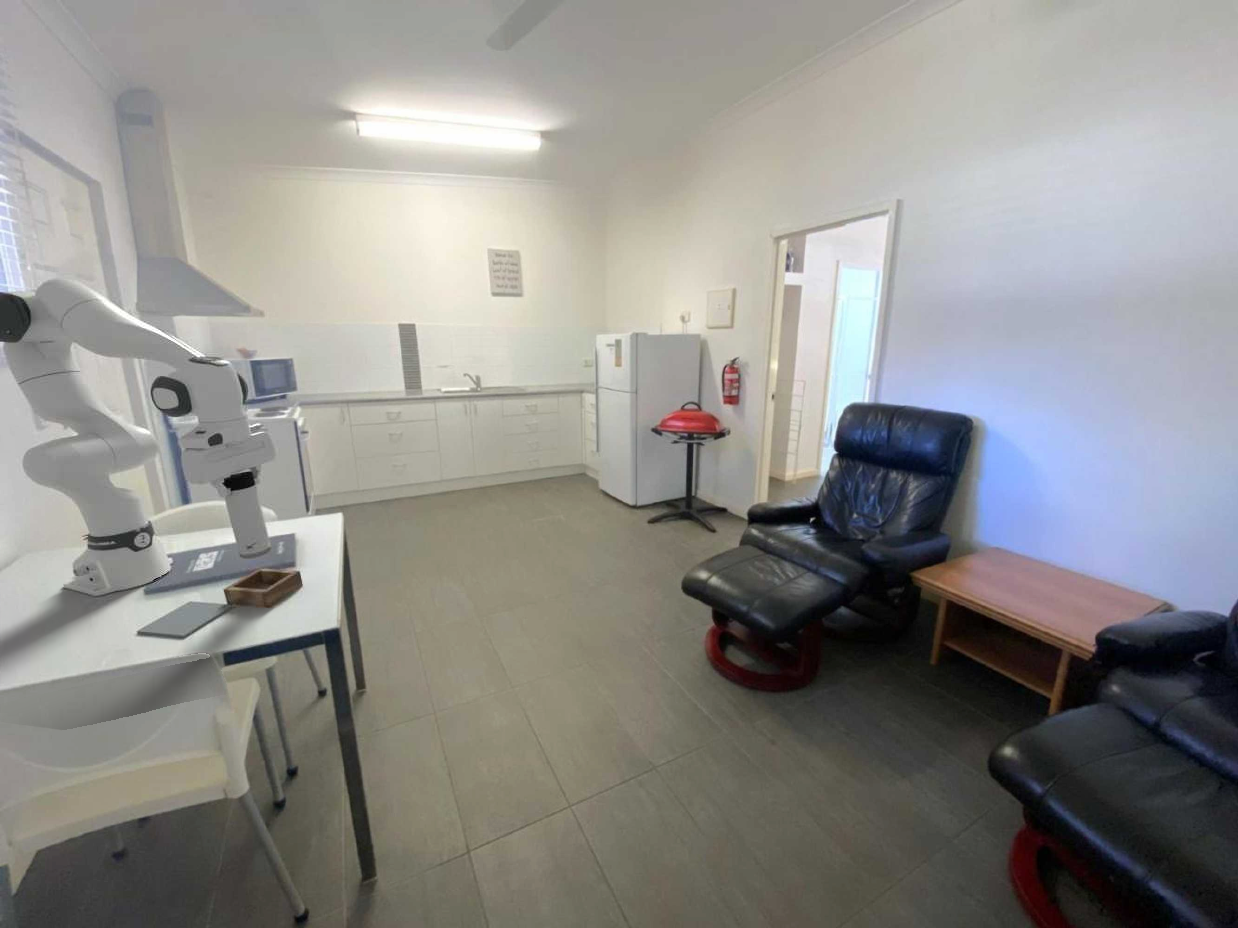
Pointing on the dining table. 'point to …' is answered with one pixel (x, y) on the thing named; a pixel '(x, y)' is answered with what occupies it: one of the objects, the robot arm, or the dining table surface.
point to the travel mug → (246, 515)
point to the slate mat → (185, 619)
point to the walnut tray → (250, 595)
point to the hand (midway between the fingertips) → (240, 490)
